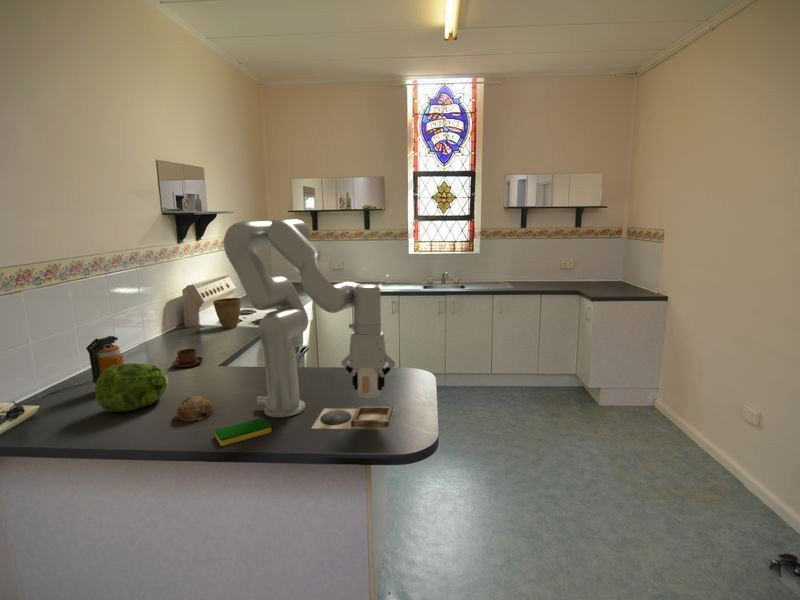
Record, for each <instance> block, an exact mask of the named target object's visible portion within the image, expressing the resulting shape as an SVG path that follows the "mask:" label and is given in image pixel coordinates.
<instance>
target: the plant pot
mask: <svg viewBox="0 0 800 600" xmlns="http://www.w3.org/2000/svg"><path fill="white" fill-rule="evenodd" d="M241 303H242V300H241V298H240V297H226V298H219V299H214V300H213V301H212V304H213V307H214V310H215V313H216V316H217V318H218V321H219V322H220V324H221V326H222V328H223V329H233V328H237V327H236V326H238V323H239V319H240V313H241V305H242V304H241Z"/></svg>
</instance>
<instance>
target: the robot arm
mask: <svg viewBox="0 0 800 600" xmlns="http://www.w3.org/2000/svg"><path fill="white" fill-rule="evenodd" d="M310 238H311V231H310V228H309V226H308V225H307V224H306V223H305V222H304V221H302V220H300V219H297V218H294V219H293V218H291V219H290V218H288V219H278V220H277V219H276V220H275V219H273V220H272V219H269V220H264V219H263V220H243V221H238V222H235V223H233V224H231V225H230V226H229V227H228V228H227V230H226V231H225V234H224V239H223V249H224V251H225V255H226V257H227V259H228V261H229V262H230V264H231V265H232V267H233V269H234V271H235V273H236V274H237V276H238V279H239V281H240V283H241V285H242V288H243V290H244V293H245V294H246V296H247V298H248V300H249V302H250V304H251V306H252V307H253V308H254V309H255V310H258V311H267V310H270V309H271V310H272V309H273V308H275V309H276V310H275V311H272V312H270V313H267V314H266V315H264V316H263V317H262V319H261V320H260V322H259V323H258V334H259V335H258V336H259V338H260V342H261V345H262V351H263V356H264V364H265V367H264V368H265V377H266V388H267V395H266V396H263V395H262V396H261V395H260V396H259V395H258V396H257V397H256V402H257V405H259V406H261V405H264V408H263V410H264V411H263V412H264V414H265V415H266V416H268V417H271V418H286V417H292V416H295V415H298V414H300V413H301V412H303V411H304V410H305V409H306V402H305V401H304V400H302V399H300V389H299V377H298V362H297V351H296V349H295V347H294V345H293V343H292V340H291V339H292V338H294V337H297V336H299V335H302V334H303V333H304V332H305V331H306V330H307V329H308V326H309V316H308V314H307V311H306V309H305V307H304V304H303V303H302V300H301V298H300V297H299V293H298V292H297V290H296V288H295V286H294V284H293V283H292V281H290V280H289V278H287V277H285V276H282V275H275V276H274V275H273V276H271V275H270V274H269V272H268V270H267V268H266V265H265V263H264V262H263V260H262V259H261V258H260V257H259V256H258V255H257V254H256V253H255V252H254V249H255V250H257V249H265V248H274V249H275V250H276V251H277V252H278V253H279V254H280V255H281V256H282V257H283V258H284V259H285V260H287V261H286V262H288V263H290V265H291V266H292V267H293V268H294V269H295V270H296V272H298V273H297V274H298V277H299V280H300V281H299V282H300V283H301V286H302V288H303V290H304V291H305V294H306V295H307V296H308V297H309V298H310V299H311V300H312V301H313V302H314V303H315V305H317V306H318V307H319V308H321V309H322V310H323V311H325V312H327V313H331V314H335V313H340V312H341V311H344V310H347V309H350V308H353V323H352V322H351V323H349V325H348V328H349V329H350V330H351V329H352V330H353V332H351V334H350V342H349V354H348V355H346V357H344V358H343V359H342V361H341V362H340V364H341V366H342V367H343V368H344V369H345V370H346V371H347V372H348V373H349V374H350V375H351V377H352V386H353V388H354V390H355V391H357V390H358V387H357V369H360V368H361V367H364V368H372V369H378V372H379V374H380V375H379V378H378V384H379V391H380V392H381V391H382V390H383V388H384V387H385V376H386V375H387V374H389V372H390V371H391V370H392V369H393V368H394V367H395V366H396V365H397V364H396V361H394V360H393V359H392V358H391V357H390V356H389V355H388V354H387V349H386V341H385V335H384V332H383V331H382V318H381V317H382V314H381V311H382V310H381V306H382V305H381V288H380V287H379V286H378V285H377V284H372V283H371V284H370V283H364V284H362V283H357V282H352V281H343V282H338V283H334V284H332V283H331V282H330V281H329V280H328V279H327V278H326V277H325V275H323V273H322V272H321V271H320V268H319V266H318V265H319V261H320V259H321V252H320V250H319V249H318V248H317V247H316V246H315V245H314V244H313V243H312V242H311V241H310ZM386 363H387V364H388V365H387V366H386V367H385V365H386Z"/></svg>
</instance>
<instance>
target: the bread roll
mask: <svg viewBox="0 0 800 600" xmlns="http://www.w3.org/2000/svg"><path fill="white" fill-rule="evenodd" d="M213 408H214V407H213V404H212V402H211V401H210V400H209V399H206V398H205V397H204V396H201V395H191V396H189V397H187V398H185V399H184V400H182V402H181V403H179V406H178V407H177V409H176V416H177V419H179V420H180V421H182V422H189V421H190V422H197V421H201V420H204V419H205V418H207V417H209V416H211V415H212V414H213V411H214V409H213ZM196 420H197V421H196Z"/></svg>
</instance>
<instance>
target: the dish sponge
mask: <svg viewBox="0 0 800 600" xmlns="http://www.w3.org/2000/svg"><path fill="white" fill-rule="evenodd" d="M271 432H272V426H271V424H270V423H269V422H268V420H266V418H265V417H259V418H255V419H253V420H248V421H244V422H241V423H237V424H232V425H229V426H225V427H221V428H218V429H214V436H215V438H216V440H217V442H218V443H219V445H220V446H227V445H230V444H233V443H238V442H240V441H243V440H244V441H245V440H248V439H251V438H255V437H258V436H262V435H266V434H270V433H271Z"/></svg>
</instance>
